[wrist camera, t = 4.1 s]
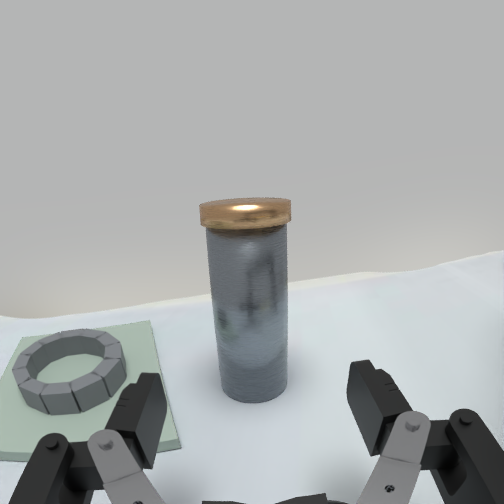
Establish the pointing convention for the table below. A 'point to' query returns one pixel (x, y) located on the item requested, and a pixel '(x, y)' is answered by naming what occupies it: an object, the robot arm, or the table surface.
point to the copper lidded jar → (249, 293)
